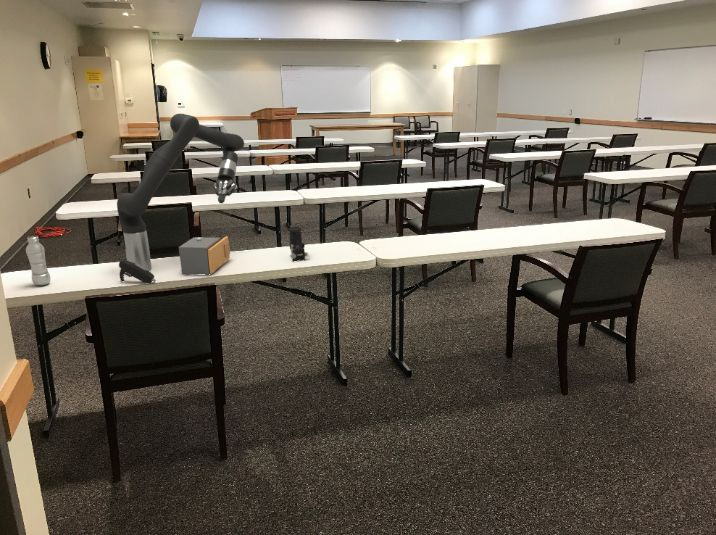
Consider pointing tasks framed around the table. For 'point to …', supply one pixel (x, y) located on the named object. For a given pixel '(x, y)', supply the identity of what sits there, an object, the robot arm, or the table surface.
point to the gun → (135, 272)
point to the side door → (218, 254)
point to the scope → (296, 244)
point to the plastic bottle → (37, 261)
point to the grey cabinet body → (196, 255)
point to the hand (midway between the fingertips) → (220, 202)
